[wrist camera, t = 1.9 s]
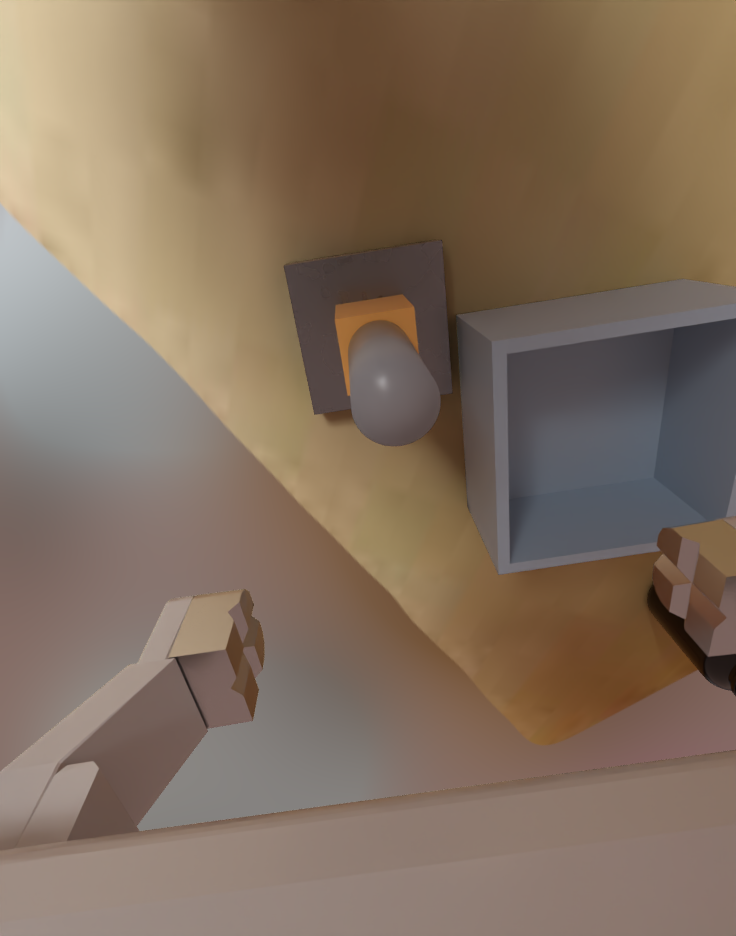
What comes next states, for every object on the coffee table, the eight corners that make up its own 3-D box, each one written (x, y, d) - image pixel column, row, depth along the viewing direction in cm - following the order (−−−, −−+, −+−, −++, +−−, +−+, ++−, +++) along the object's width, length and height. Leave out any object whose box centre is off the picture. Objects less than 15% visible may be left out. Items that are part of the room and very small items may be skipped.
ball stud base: (286, 263, 32) (275, 271, 26) (436, 239, 32) (457, 241, 26) (315, 405, 36) (311, 438, 31) (447, 385, 36) (466, 414, 31)
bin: (455, 314, 34) (491, 341, 26) (683, 278, 34) (790, 294, 26) (467, 507, 41) (498, 574, 33) (655, 478, 41) (732, 540, 33)
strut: (335, 305, 31) (331, 359, 18) (402, 294, 31) (446, 341, 18) (346, 370, 33) (350, 462, 20) (409, 360, 33) (453, 446, 20)
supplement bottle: (722, 598, 47) (833, 707, 37) (654, 626, 49) (742, 739, 38) (707, 549, 45) (824, 651, 34) (636, 580, 46) (726, 688, 35)
